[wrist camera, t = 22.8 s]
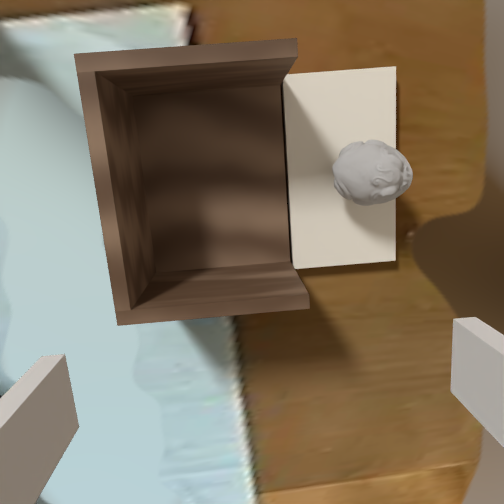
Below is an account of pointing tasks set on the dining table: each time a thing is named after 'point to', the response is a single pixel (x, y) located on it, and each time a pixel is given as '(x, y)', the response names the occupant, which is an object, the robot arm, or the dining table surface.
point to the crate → (192, 178)
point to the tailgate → (325, 155)
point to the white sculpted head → (371, 173)
